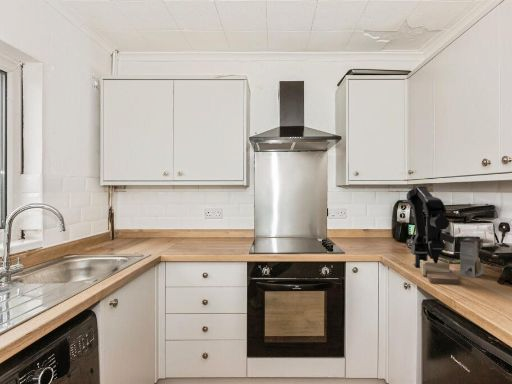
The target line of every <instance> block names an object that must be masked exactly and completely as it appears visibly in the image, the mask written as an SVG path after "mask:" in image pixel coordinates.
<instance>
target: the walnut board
mask: <svg viewBox="0 0 512 384" xmlns="http://www.w3.org/2000/svg"><path fill="white" fill-rule="evenodd" d="M425 277H426V278H427V280H428V281H429V283H430V284H441V285H442V284H445V285H446V284H447V285H458V284H459V285H460V286H461V280H460V278H459V277H458V276H457V275H456V274H455V272H453V271H452V270H450V272H431V271H426V276H425Z"/></svg>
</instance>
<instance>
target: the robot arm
mask: <svg viewBox="0 0 512 384" xmlns="http://www.w3.org/2000/svg"><path fill="white" fill-rule="evenodd" d="M406 200H407V201H408V202H407V204H408V205H409V206H410V207H411V208H412V215H413V222H414V230H415V236H414V239H413V240H412V241H413V243H412V245H411V249H410V251H411V252H410V253H411V254H412V255H413V256H415V257H414V263H413V266H414V267H415V268H420V260H423V261H429V260H428V257H429V258H430V260H431V259H432V260H433V261H434V263H437V262H439V257H440V255H441V252H443V251H445V250H446V243H444V242H443V241H445V242H447V243H450V244H452V245H453V244H454V242H455V239H456V236H454V235H451V232H449V231H445V232H443V230H446V229H447V228H448V227H449V225H450V220H449V219H448V217H446V216H445V215H447V209H446V207H445V204H444V202H443V200H442V199H441V198H438V197H436V196H433V195H432V194H431V193H430V191H429V190H428V188H427V186H423V185H422V186H415V187H414V188H411V189H409V191H408V192H407V193H406ZM423 211H424V212H425V216H426V217H425V218H426V220H425V218H424V212H423ZM425 221H426V225H425Z"/></svg>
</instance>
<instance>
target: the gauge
mask: <svg viewBox="0 0 512 384" xmlns="http://www.w3.org/2000/svg"><path fill="white" fill-rule="evenodd" d="M419 271H420V272H419V273H421V275H422V276H424V277H426V271H431V272H450V262H448V261H438V262H437V263H434V261H431V260H428V261H423V260H420V267H419Z"/></svg>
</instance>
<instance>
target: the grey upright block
mask: <svg viewBox="0 0 512 384" xmlns="http://www.w3.org/2000/svg"><path fill="white" fill-rule="evenodd" d="M483 245H484V244H483V239H481V238H474V237H466V238H462V239H460V240H459V263H460V264H459V267H460V268H459V270H460V271H459V274H460V276H465V277H470V278H473V279H474V278H478V277H479V276H482V275H483V274H484V262H483V263H481V262H480V258H479V250H480V249H481V248H482V247H483Z"/></svg>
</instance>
